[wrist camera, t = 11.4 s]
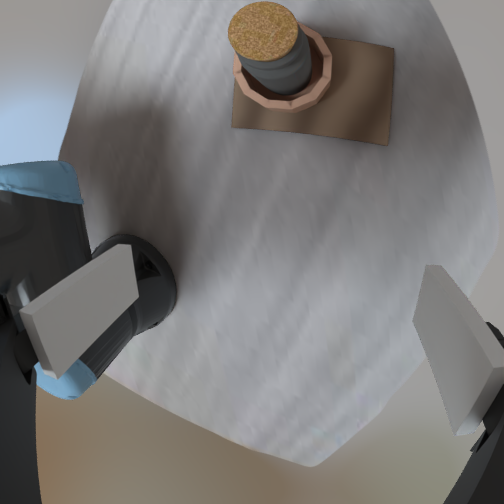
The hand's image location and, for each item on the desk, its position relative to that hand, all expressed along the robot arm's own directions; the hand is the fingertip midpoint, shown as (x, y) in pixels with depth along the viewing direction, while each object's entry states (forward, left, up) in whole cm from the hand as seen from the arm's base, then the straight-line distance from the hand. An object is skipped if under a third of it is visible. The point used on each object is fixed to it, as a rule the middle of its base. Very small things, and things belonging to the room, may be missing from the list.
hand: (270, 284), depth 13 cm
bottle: (-3, +13, -24) cm, 28 cm away
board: (0, +12, -25) cm, 28 cm away
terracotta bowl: (-3, +13, -24) cm, 28 cm away
